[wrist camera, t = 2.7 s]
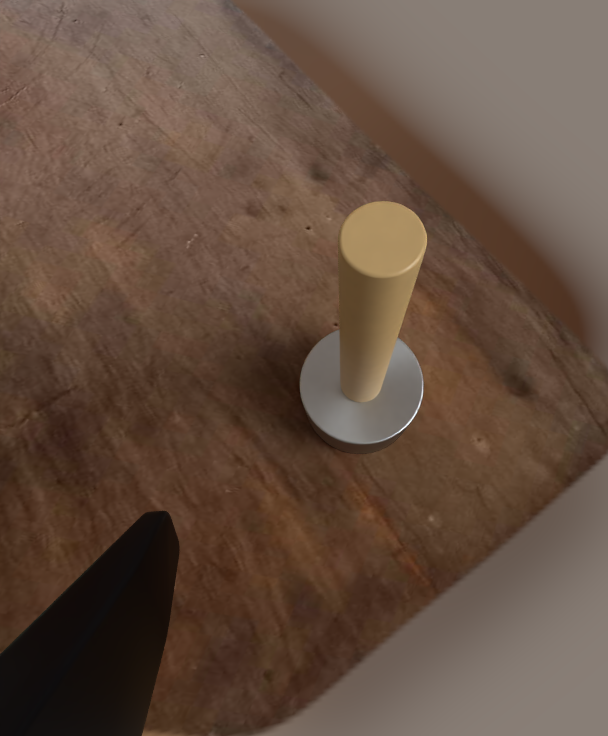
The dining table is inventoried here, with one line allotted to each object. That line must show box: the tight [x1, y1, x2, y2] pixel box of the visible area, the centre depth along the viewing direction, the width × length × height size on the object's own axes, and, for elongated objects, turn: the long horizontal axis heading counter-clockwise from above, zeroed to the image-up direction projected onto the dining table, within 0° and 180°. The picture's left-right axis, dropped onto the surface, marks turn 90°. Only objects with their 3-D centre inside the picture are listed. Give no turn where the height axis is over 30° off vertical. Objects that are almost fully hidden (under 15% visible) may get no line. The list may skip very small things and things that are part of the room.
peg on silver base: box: [299, 201, 427, 454], centre depth 15 cm, size 5×5×13 cm
